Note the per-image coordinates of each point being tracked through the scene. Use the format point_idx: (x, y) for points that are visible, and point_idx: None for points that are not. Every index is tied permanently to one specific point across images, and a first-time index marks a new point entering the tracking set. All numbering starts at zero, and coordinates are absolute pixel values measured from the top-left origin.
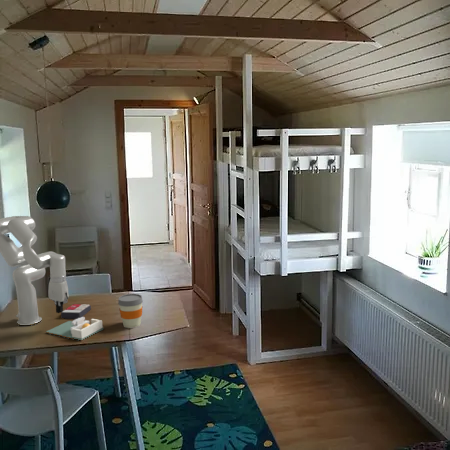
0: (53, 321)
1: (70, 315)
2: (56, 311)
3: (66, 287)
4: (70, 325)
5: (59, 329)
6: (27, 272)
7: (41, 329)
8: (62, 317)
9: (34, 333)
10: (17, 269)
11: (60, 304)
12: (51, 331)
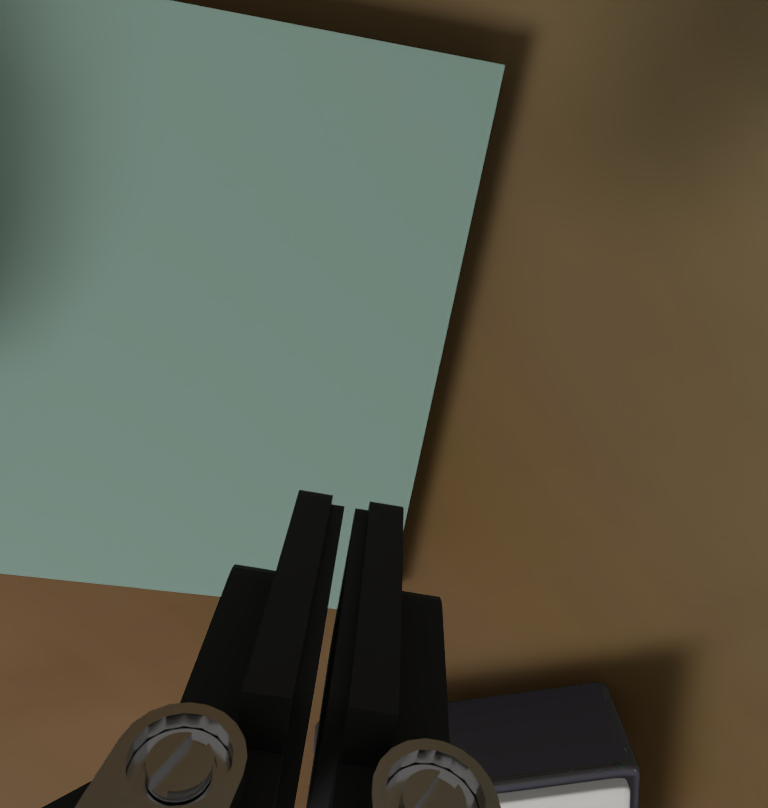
0: (668, 573)
1: (461, 748)
2: (386, 523)
3: None
4: (210, 464)
5: (280, 249)
6: None
7: (708, 238)
8: (589, 697)
9: (759, 4)
10: None
11: (91, 806)
12: (379, 105)
